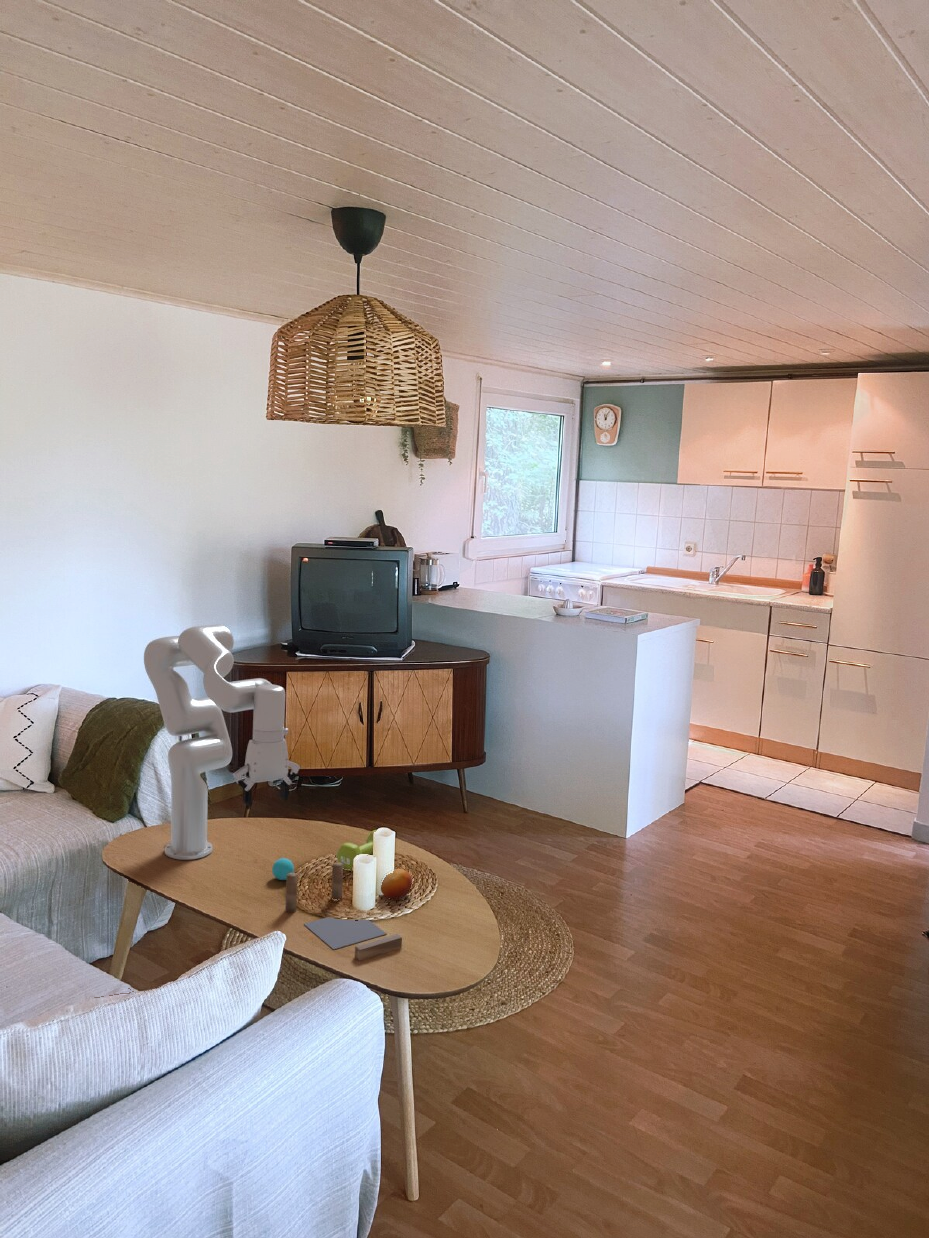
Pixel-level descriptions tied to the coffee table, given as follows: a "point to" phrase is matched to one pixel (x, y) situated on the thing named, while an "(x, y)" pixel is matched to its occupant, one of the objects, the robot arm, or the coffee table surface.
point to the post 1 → (291, 892)
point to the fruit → (397, 884)
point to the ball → (282, 868)
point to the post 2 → (337, 880)
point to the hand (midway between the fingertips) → (265, 801)
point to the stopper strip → (378, 947)
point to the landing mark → (344, 931)
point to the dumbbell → (354, 851)
